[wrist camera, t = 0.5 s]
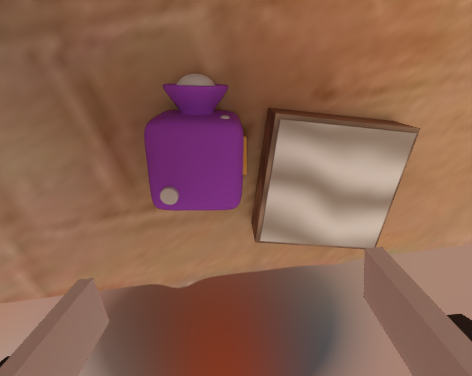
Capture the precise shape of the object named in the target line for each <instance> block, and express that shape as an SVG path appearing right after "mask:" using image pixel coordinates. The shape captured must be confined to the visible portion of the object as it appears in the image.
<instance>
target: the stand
mask: <svg viewBox="0 0 472 376" xmlns="http://www.w3.org/2000/svg"><path fill="white" fill-rule="evenodd" d="M419 130H420V128H417V127H413V126H409V125H405V124H402V123H398V122H394V121H387V120H377V119H368V118H358V117H349V116H340V115H330V114H321V113H311V112H302V111H293V110H283V109H274V108H268V114H267V120H266V127H265V134H264V141H263V147H262V154H261V161H260V168H259V174H258V181H257V188H256V195H255V201H254V208H253V215H252V228H253V233H254V238H255V242H260V243H275V244H291V245H306V246H322V247H338V248H353V249H367V248H376V245H377V242H378V240H379V237H380V234H381V232H382V229H383V226H384V224H385V221H386V218H387V216H388V213H389V210H390V208H391V205H392V202H393V200H394V197H395V194H396V192H397V189H398V186H399V184H400V181H401V178H402V176H403V173H404V170H405V168H406V165H407V162H408V160H409V157H410V154H411V152H412V149H413V146H414V144H415V141H416V138H417V136H418V133H419Z"/></svg>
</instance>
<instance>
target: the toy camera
mask: <svg viewBox="0 0 472 376" xmlns="http://www.w3.org/2000/svg"><path fill="white" fill-rule="evenodd" d="M163 88H164V90H165V91H166V93H167V94H168V95H169V97H170V98H171V99H172V101H173V102H174V103H175V104H176V106H177V107H178V108H179V110H169V111H165V112H163V113H161V114H159V115H157V116H156V117H154V118H153V119H151V120H150V121H149V122H148V123H147V125H146V127H145V131H144V138H145V149H146V158H147V166H148V175H149V183H150V191H151V197H152V201H153V203H154V205H155V206H156V207H157V208H159V209H163V210H229V209H234V208H236V207H237V206H238V205H239V203H240V200H241V196H242V181H243V175H247V138H246V137H244V136H243V129H242V125H241V122H240V120H239V117H238V116H237V115H236V114H235V113H233V112H230V111H222V110H214V109H215V107H216V106H217V104H218V103H219V102H220V100H221V99H222V97H223V96H224V94H225V93H226V91H227V89H228V86H227V85H221V84H214V82H213V81H212V80H211V79H210V78H209V77H207V76H205V75H202V74H197V73H193V74H188V75H185V76H183V77H182V78H181V79H180V80H179V81H178V82H177V84H164V85H163Z"/></svg>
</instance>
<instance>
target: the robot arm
mask: <svg viewBox="0 0 472 376" xmlns="http://www.w3.org/2000/svg"><path fill="white" fill-rule="evenodd" d="M364 261H365V262H364V298H365V300H366V301H367V303H368V304H369V306H370V308H371V309H372V311H373V312H374V314H375V316H376V317H377V319H378V321H379V322H380V324H381V325H382V327H383V329H384V330H385V332H386V333H387V335H388V337H389V338H390V340H391V341H392V343H393V345H394V346H395V348H396V350H397V351H398V353H399V354H400V356H401V357H402V359H403V361H404V362H405V364H406V366H407V367H408V369H409V370H410V372H411V374H412V375H413V376H472V320H470V319H469V318H467V317H466V316H463V315H462V314H453V315H445V313H444V312H443V311H442V310H441V309H440V308H439V307H438V306H437V305H436V304H435V302H434V301H433V300H432V299H431V298H430V297H429V296H428V295H427V294H426V293H425V292H424V291H423V290H422V289H421V288H420V287H419V286H418V285H417V284H416V283H415V282H414V280H413V279H412V278H411V277H410V276H409V275H408V274H407V273H406V272H405V271H404V270H403V269H402V268H401V267H400V266H399V265H398V264H397V263H396V261H394V259H393V258H392V257H391V256H390V255H389V254H388V253H387V252H386V251H385V250H384V249H383V248H382V247H376V248H367V249H365V260H364ZM108 323H109V319H108V316H107V314H106V311H105V308H104V306H103V303H102V300H101V298H100V295H99V292H98V290H97V287H96V284H95V281H94V279H93V278H89V279H80V280H78V281H77V282H76V283H75V284H74V285H73V286H72V287H71V289H70V290H69V291H68V292H67V293H66V294H65V295H64V296H63V298H62V299H61V300H60V301H59V302H58V303H57V304H56V305H55V307H54V308H53V309H52V310H51V311H50V312H49V313H48V314H47V316H46V317H45V318H44V319H43V320H42V321H41V322H40V323H39V325H38V326H37V327H36V328H35V329H34V330H33V331H32V333H31V334H30V335H29V336H28V337H27V338H26V339H25V340H24V342H23V343H22V344H21V345H20V346H19V347H18V348H17V349H16V351H15V352H14V353H13V354H12V355H11V356H8V357H6V358H5V359H3V360H2V361H1V362H0V376H78V375H79V373H80V371H81V369H82V368H83V366H84V364H85V363H86V361H87V359H88V357H89V356H90V354H91V352H92V351H93V349H94V347H95V345H96V344H97V342H98V340H99V338H100V337H101V335H102V333H103V332H104V330H105V328H106V326H107V325H108Z"/></svg>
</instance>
